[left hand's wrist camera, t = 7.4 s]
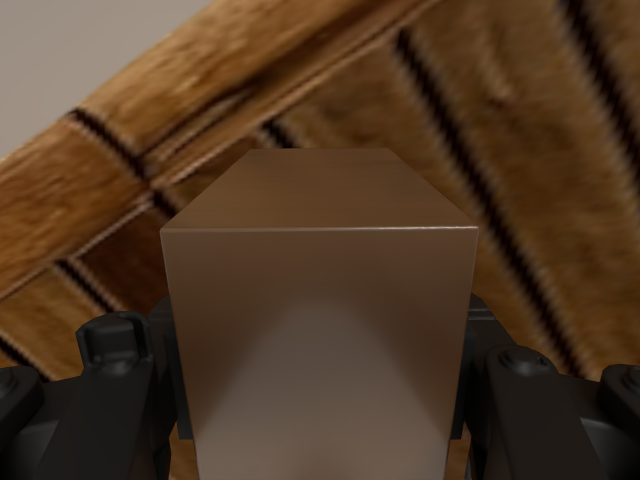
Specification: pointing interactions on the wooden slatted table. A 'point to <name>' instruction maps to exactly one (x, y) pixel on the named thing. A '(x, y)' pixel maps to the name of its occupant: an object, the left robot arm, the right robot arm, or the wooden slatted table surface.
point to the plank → (320, 316)
